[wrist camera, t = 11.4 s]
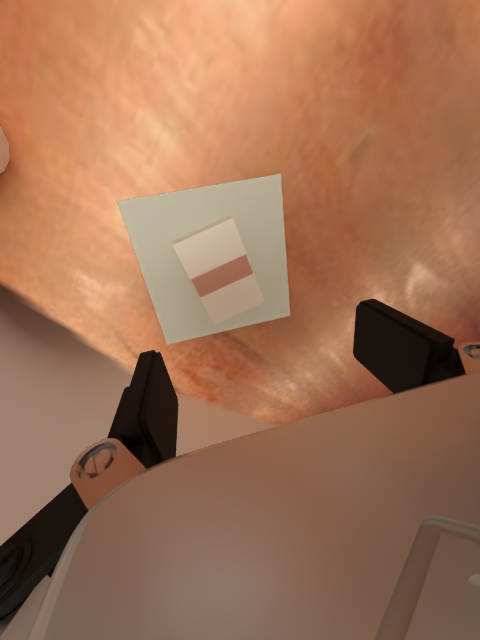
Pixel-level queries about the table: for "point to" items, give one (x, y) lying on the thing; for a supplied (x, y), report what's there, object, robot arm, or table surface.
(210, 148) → the table surface
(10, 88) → the table surface
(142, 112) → the table surface
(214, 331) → the mat
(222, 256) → the card box
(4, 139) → the shot glass
